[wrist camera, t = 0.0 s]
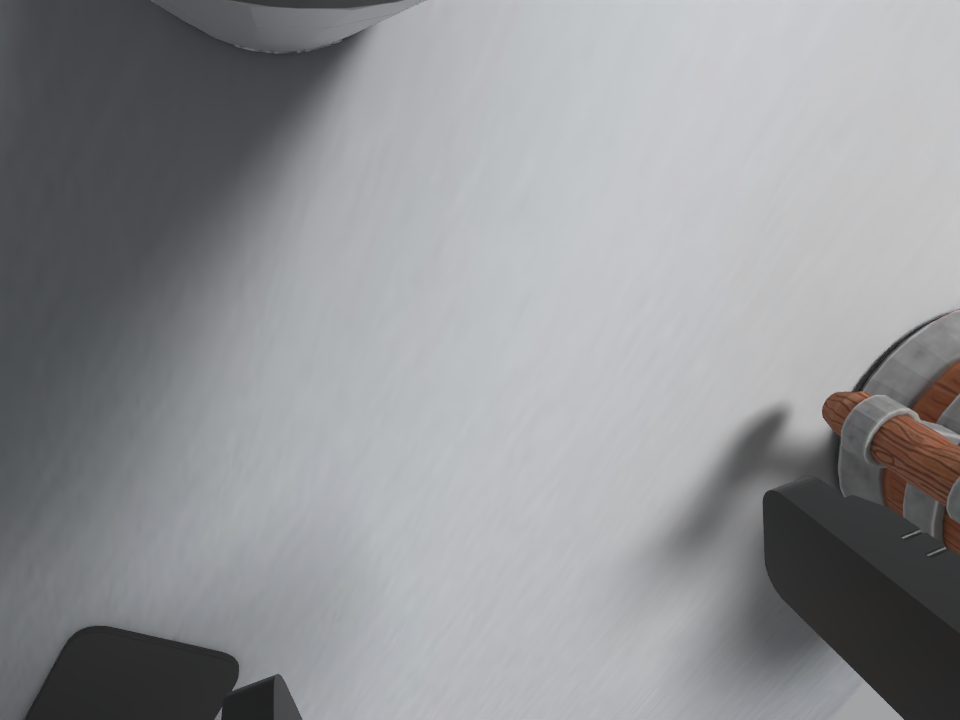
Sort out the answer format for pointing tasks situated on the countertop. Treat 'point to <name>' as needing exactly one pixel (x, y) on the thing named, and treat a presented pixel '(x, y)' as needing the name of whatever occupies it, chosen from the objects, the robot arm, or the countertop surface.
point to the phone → (134, 679)
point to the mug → (907, 432)
